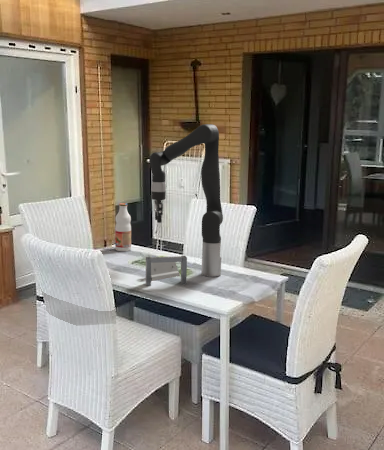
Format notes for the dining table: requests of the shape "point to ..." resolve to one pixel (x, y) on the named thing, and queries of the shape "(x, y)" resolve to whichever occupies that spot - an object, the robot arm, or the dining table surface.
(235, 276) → the dining table surface
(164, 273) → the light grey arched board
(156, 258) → the bar
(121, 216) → the fruit juice
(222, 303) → the dining table surface
